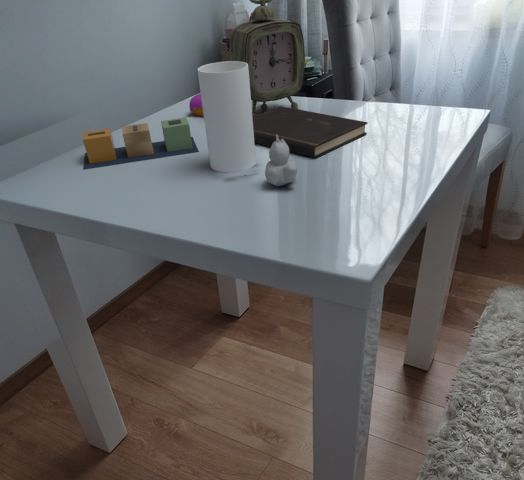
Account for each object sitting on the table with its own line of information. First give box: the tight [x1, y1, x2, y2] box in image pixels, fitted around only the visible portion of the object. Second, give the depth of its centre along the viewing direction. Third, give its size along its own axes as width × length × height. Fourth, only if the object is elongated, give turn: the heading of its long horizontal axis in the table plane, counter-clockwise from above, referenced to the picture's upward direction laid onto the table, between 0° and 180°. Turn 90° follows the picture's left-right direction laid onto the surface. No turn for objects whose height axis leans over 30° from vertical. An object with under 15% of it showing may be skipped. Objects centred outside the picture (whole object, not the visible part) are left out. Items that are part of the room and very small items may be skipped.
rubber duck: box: [264, 134, 298, 187], centre depth 81 cm, size 5×7×8 cm
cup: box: [197, 60, 257, 173], centre depth 86 cm, size 8×8×16 cm
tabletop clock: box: [228, 0, 306, 117], centre depth 108 cm, size 14×9×25 cm, turn 118°
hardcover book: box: [252, 105, 369, 159], centre depth 101 cm, size 16×23×2 cm
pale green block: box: [160, 117, 193, 152], centre depth 99 cm, size 5×5×5 cm
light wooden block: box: [121, 122, 154, 158], centre depth 98 cm, size 5×5×5 cm
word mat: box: [82, 136, 200, 171], centre depth 100 cm, size 22×10×1 cm, turn 103°
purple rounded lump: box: [189, 93, 204, 117], centre depth 117 cm, size 10×10×5 cm
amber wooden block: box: [82, 128, 116, 164], centre depth 97 cm, size 5×5×5 cm
